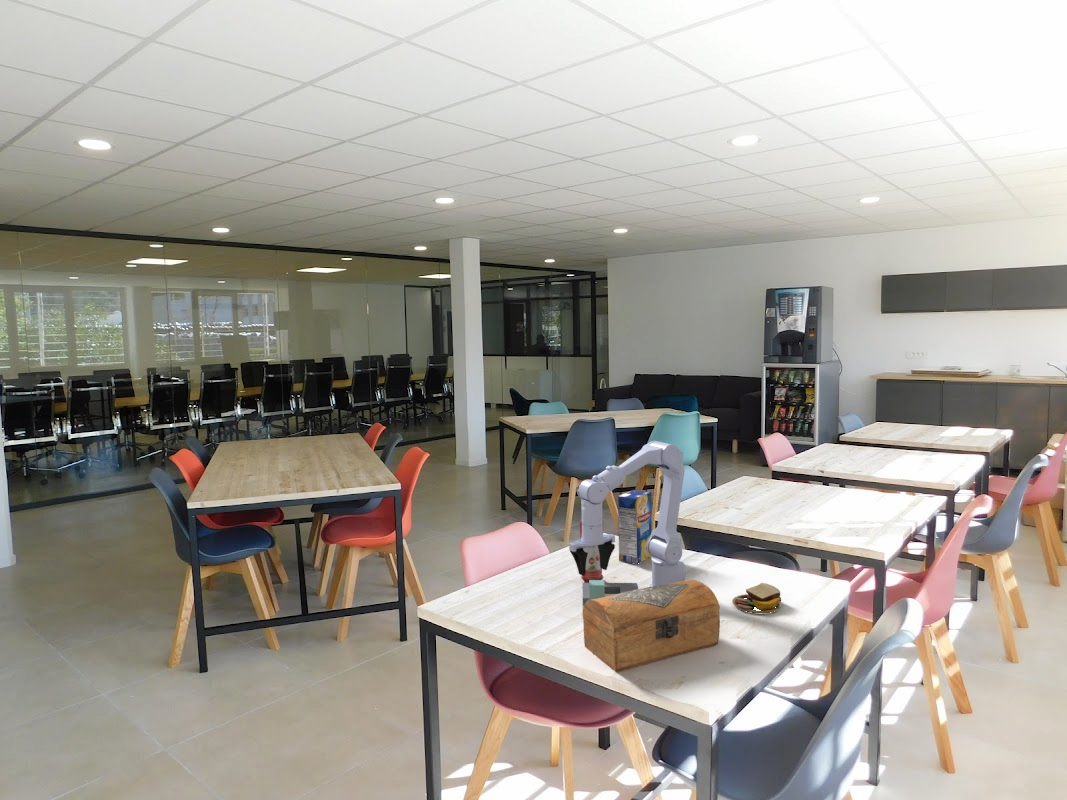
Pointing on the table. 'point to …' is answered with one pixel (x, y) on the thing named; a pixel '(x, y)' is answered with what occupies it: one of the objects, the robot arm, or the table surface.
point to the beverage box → (634, 525)
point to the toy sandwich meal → (759, 599)
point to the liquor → (592, 562)
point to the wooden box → (651, 624)
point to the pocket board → (609, 589)
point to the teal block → (596, 589)
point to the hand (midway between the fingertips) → (593, 571)
